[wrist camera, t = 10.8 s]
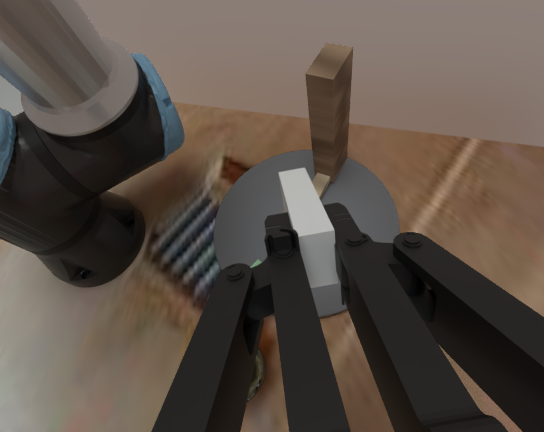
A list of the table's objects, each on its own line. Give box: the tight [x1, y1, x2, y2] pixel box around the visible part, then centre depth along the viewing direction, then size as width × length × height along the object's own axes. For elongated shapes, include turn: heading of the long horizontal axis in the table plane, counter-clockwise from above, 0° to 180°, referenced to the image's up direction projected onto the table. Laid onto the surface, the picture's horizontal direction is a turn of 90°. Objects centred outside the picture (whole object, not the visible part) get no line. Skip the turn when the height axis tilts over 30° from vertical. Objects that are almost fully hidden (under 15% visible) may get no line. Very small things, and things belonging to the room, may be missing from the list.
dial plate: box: [214, 150, 399, 318], centre depth 46 cm, size 26×26×2 cm
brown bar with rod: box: [283, 43, 353, 213], centre depth 37 cm, size 24×5×18 cm, turn 151°
